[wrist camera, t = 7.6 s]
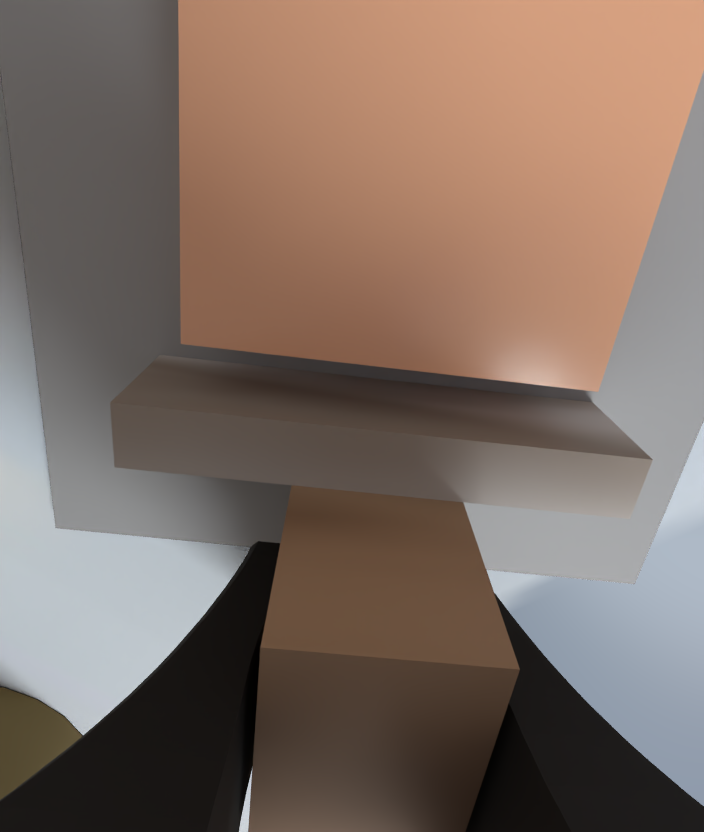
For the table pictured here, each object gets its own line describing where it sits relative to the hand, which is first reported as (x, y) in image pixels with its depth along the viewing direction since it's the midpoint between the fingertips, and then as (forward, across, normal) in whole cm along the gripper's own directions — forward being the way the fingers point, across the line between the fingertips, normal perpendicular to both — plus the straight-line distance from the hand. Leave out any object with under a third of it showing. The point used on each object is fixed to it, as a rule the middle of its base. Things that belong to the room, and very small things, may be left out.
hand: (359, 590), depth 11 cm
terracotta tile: (+2, 0, -8) cm, 9 cm away
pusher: (+2, 0, 0) cm, 2 cm away
